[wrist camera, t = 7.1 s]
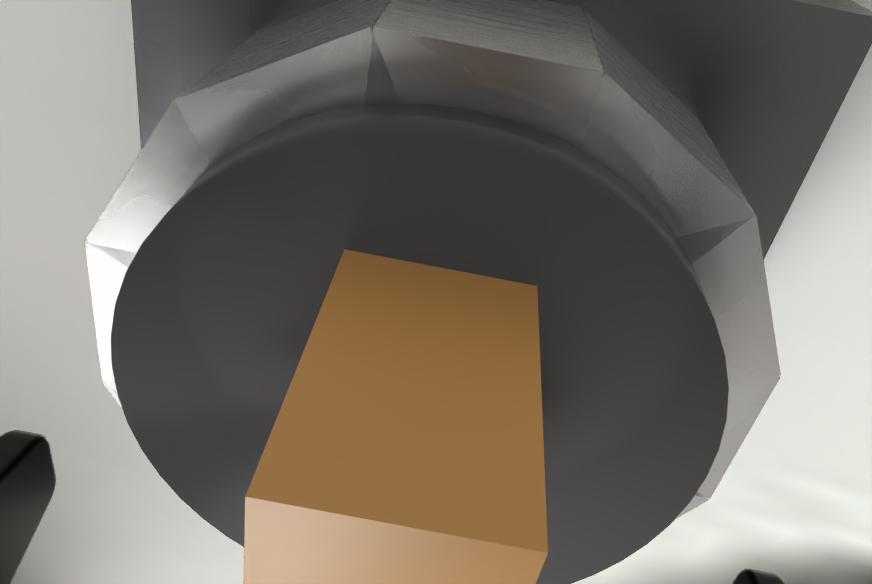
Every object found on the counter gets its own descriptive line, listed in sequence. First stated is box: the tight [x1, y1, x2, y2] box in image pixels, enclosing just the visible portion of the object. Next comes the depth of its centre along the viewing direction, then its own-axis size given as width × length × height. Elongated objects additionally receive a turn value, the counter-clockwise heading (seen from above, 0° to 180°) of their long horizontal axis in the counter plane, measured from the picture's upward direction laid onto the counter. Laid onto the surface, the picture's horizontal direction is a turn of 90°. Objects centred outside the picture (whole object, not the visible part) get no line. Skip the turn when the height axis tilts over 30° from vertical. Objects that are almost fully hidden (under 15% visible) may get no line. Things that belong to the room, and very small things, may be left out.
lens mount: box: [85, 0, 872, 519], centre depth 14 cm, size 12×12×5 cm
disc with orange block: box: [111, 104, 729, 584], centre depth 10 cm, size 9×9×7 cm
